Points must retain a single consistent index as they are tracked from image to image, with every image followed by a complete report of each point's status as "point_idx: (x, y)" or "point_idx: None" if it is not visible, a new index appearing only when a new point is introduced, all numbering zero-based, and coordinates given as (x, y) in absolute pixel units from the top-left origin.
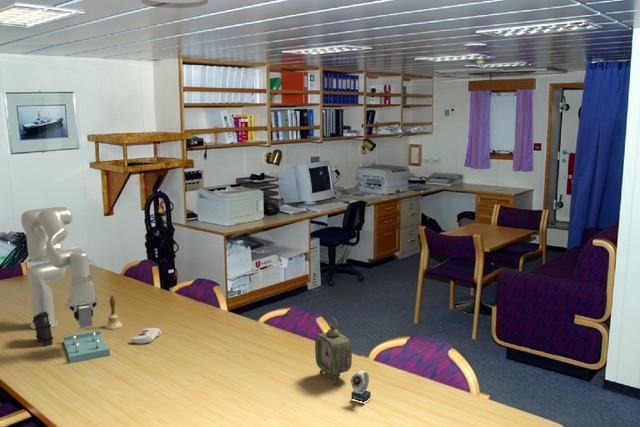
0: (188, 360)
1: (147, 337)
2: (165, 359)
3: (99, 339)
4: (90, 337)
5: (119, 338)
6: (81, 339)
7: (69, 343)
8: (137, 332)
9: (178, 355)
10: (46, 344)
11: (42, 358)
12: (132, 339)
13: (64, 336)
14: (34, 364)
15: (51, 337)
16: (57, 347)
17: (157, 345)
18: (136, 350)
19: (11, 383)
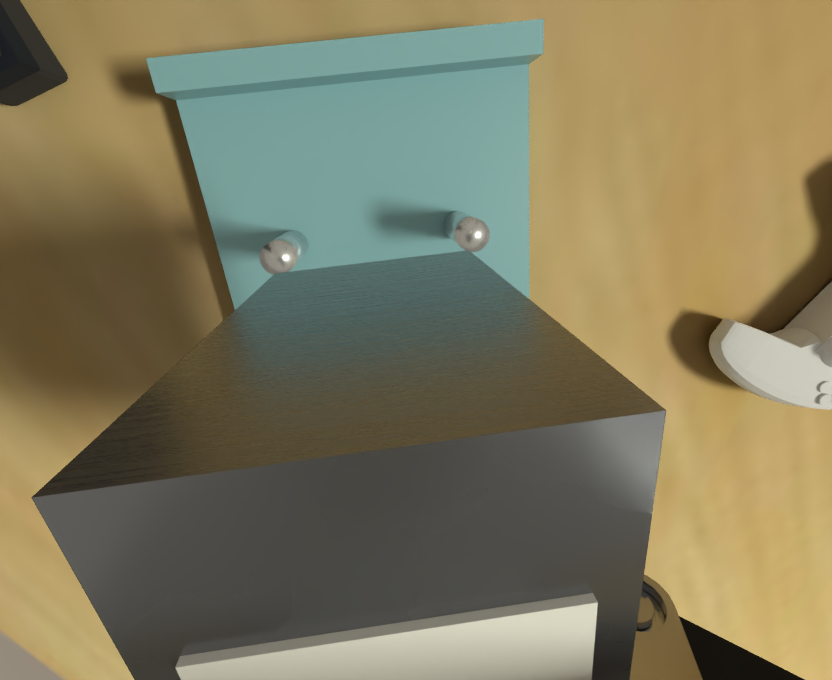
0: (820, 625)
1: (819, 408)
2: (748, 595)
3: (502, 211)
4: (431, 114)
5: (653, 193)
6: (348, 136)
7: (244, 200)
8: (826, 103)
9: (818, 573)
10: (7, 104)
11: (84, 382)
12: (722, 360)
13: (160, 65)
14: (61, 461)
15: (5, 71)
16: (145, 189)
17: (806, 428)
18: (677, 457)
19: (22, 640)
